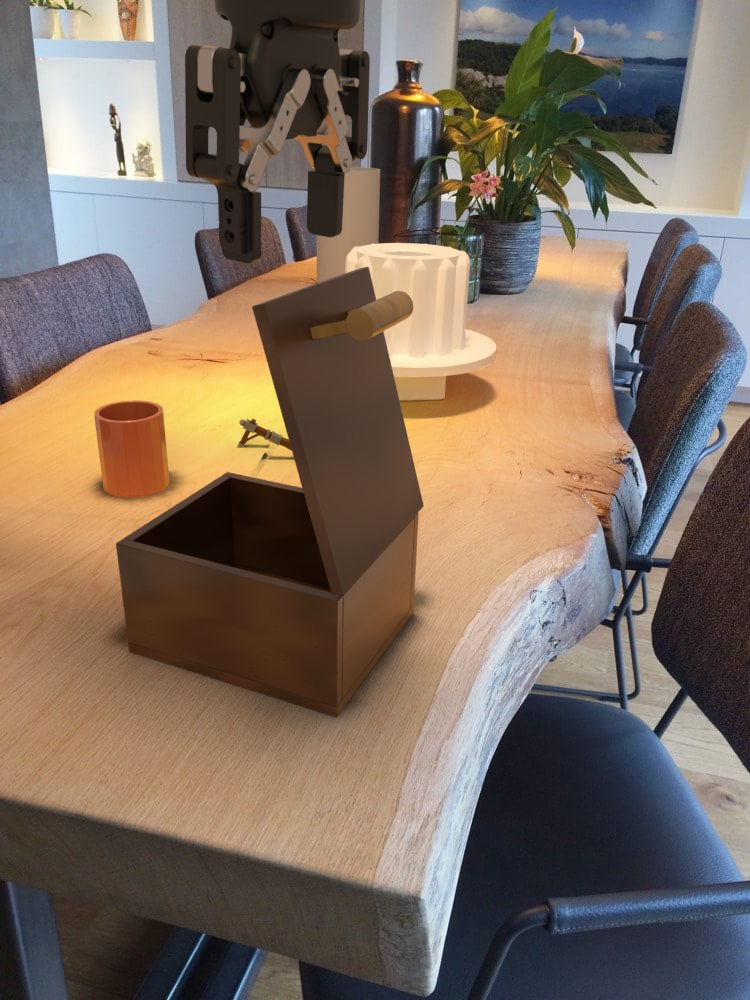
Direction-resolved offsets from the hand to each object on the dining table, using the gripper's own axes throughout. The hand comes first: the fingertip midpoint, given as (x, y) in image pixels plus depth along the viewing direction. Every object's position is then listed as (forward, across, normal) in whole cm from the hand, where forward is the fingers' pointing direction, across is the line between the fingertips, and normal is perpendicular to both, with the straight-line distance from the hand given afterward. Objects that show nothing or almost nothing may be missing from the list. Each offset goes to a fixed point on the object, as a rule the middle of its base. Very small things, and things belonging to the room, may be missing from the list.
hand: (285, 246), depth 49 cm
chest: (+28, +1, 0) cm, 28 cm away
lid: (+10, 0, +5) cm, 11 cm away
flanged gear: (+33, -56, -19) cm, 68 cm away
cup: (+31, -11, -25) cm, 41 cm away
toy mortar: (+31, -26, -19) cm, 45 cm away
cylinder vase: (+38, -105, -57) cm, 126 cm away
